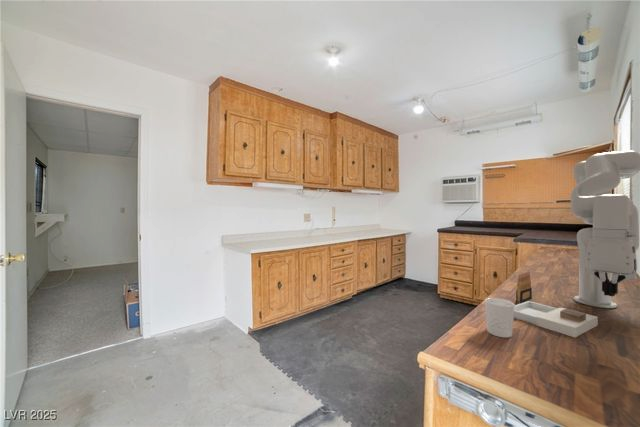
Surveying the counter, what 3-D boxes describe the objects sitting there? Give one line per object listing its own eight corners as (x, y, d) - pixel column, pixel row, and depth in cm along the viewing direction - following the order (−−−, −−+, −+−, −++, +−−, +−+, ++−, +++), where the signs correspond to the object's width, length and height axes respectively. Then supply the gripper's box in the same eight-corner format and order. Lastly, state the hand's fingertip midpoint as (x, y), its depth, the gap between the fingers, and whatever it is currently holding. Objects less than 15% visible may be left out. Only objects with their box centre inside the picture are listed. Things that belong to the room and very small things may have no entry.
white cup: (509, 329, 88) (509, 299, 88) (518, 340, 81) (518, 307, 81) (482, 326, 91) (482, 296, 91) (488, 336, 84) (488, 304, 83)
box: (528, 307, 109) (528, 300, 109) (559, 315, 100) (559, 308, 100) (505, 315, 101) (505, 308, 100) (536, 324, 92) (536, 317, 92)
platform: (560, 315, 100) (560, 307, 100) (597, 325, 91) (597, 316, 91) (536, 325, 91) (536, 316, 91) (575, 337, 83) (575, 327, 83)
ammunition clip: (520, 303, 113) (521, 275, 113) (515, 302, 115) (516, 274, 114) (531, 299, 119) (532, 271, 119) (526, 297, 120) (527, 271, 120)
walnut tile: (566, 314, 93) (566, 308, 93) (585, 319, 89) (586, 313, 89) (560, 317, 91) (560, 311, 91) (579, 322, 87) (579, 316, 87)
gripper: (652, 236, 77) (651, 300, 77) (582, 233, 90) (582, 287, 90) (644, 237, 74) (643, 304, 74) (573, 233, 87) (572, 290, 87)
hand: (609, 295), depth 82 cm, fingers closed
